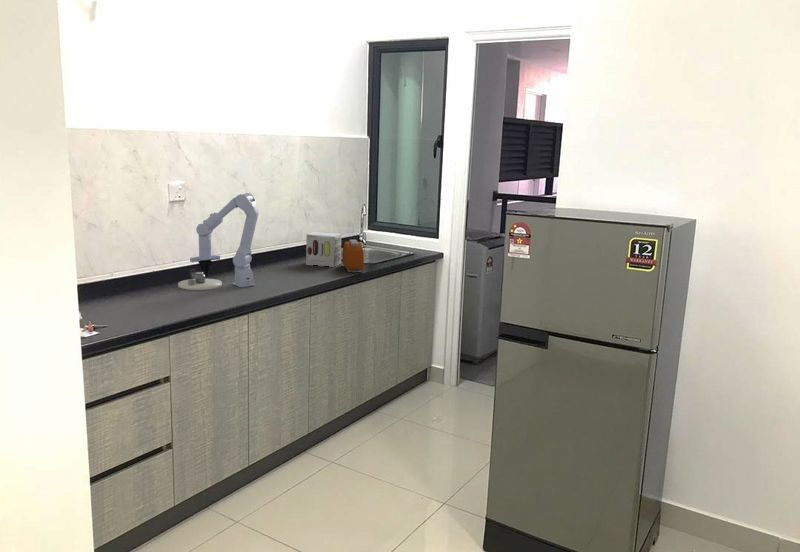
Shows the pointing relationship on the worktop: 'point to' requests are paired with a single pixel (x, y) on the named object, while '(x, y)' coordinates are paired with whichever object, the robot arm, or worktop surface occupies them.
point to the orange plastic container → (353, 256)
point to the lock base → (200, 284)
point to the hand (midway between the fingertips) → (205, 275)
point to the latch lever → (197, 276)
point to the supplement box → (323, 249)
